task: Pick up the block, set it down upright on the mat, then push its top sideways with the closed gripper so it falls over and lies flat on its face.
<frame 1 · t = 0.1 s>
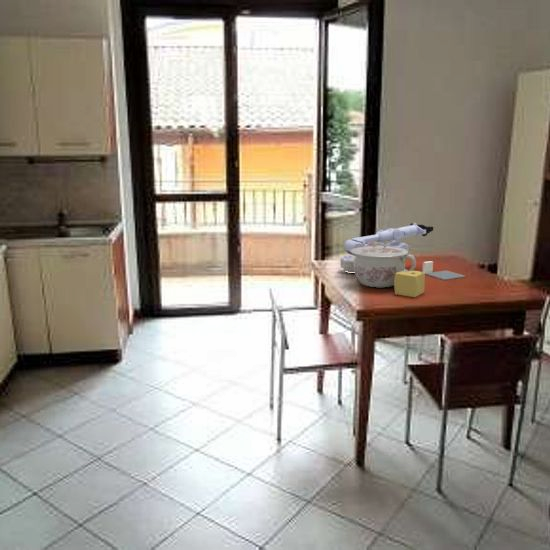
hand: (428, 227, 297), 22 cm above the table, tool horizontal, fingers open, 7 cm apart
paper bowls: (354, 272, 292), on the table
chamber pot: (378, 285, 267), on the table
gum box: (366, 264, 311), on the table
cheese: (409, 294, 250), on the table
mat: (445, 275, 281), on the table
block: (427, 273, 287), on the table
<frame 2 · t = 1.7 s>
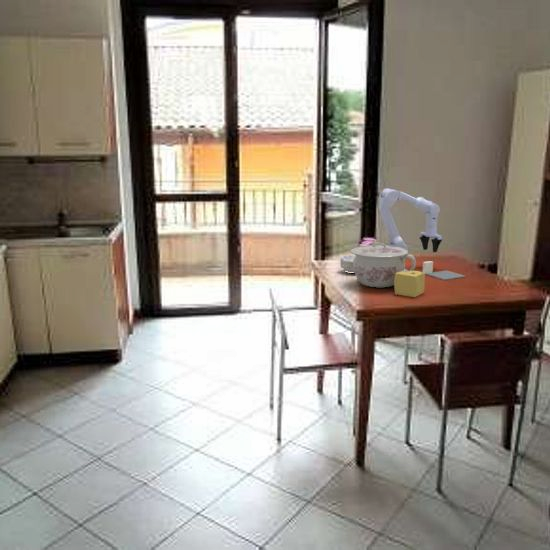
hand: (430, 250, 295), 10 cm above the table, tool pointing down, fingers open, 7 cm apart
nothing on the table moved.
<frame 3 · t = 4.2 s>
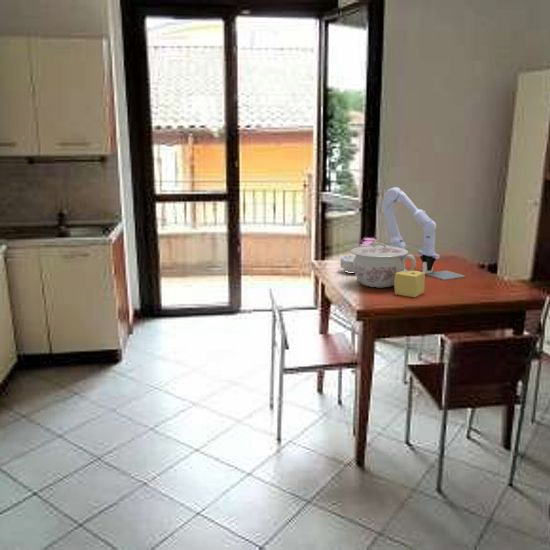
hand: (427, 269, 287), 2 cm above the table, tool pointing down, fingers closed on block, 2 cm apart
block: (427, 273, 287), on the table, touching gripper
everything else where it was.
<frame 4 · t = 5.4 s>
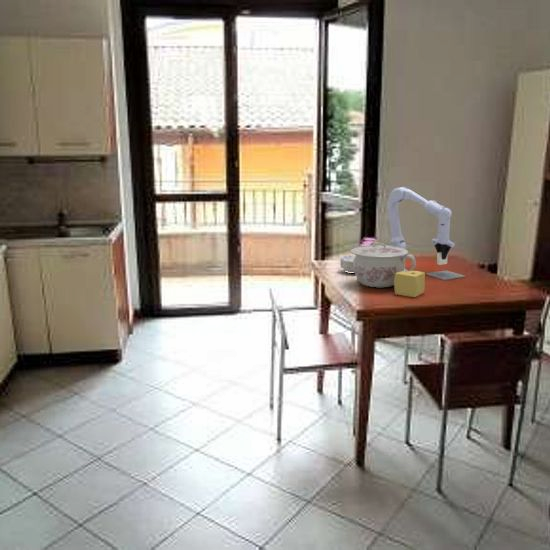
hand: (442, 258, 280), 9 cm above the table, tool pointing down, fingers closed on block, 2 cm apart
block: (442, 263, 281), point 6 cm above the table, touching gripper
everything else where it was.
when the fingers open (3 cm above the table, at t = 7.0 s): block stays where it is, resting on mat.
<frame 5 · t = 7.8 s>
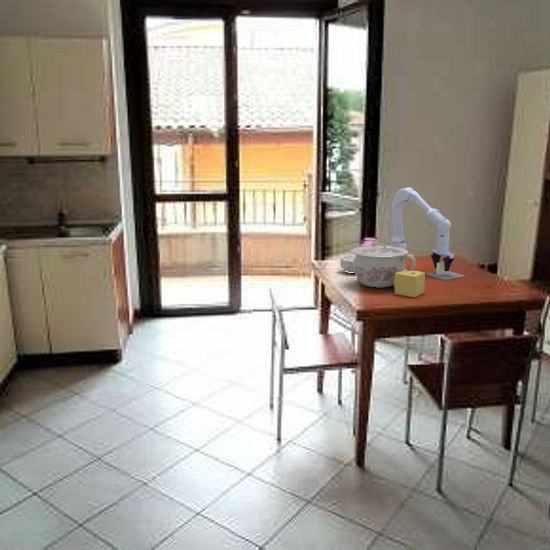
hand: (441, 269, 282), 3 cm above the table, tool pointing down, fingers open, 7 cm apart
block: (441, 274, 282), point 1 cm above the table, touching mat
everything else where it was.
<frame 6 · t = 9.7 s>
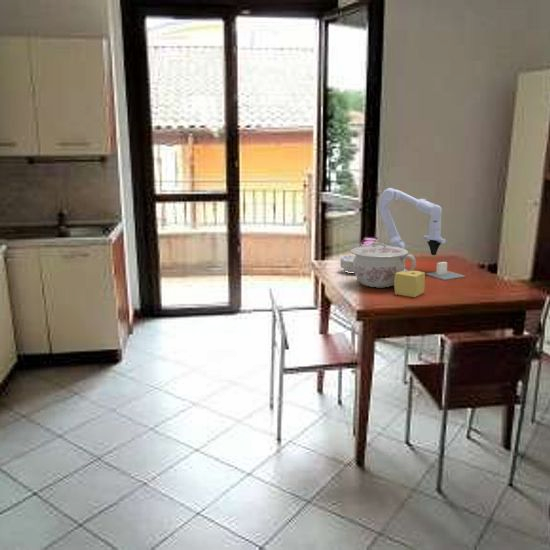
hand: (433, 254, 286), 10 cm above the table, tool pointing down, fingers closed
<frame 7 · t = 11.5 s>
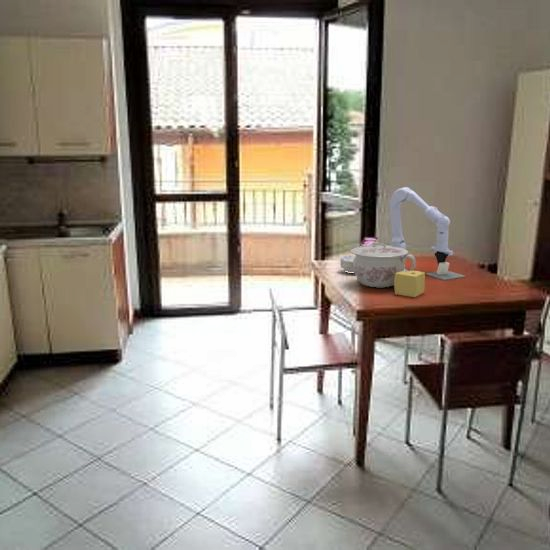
hand: (440, 266, 282), 4 cm above the table, tool pointing down, fingers closed
block: (441, 273, 282), point 1 cm above the table, tilted 16°, touching gripper, mat
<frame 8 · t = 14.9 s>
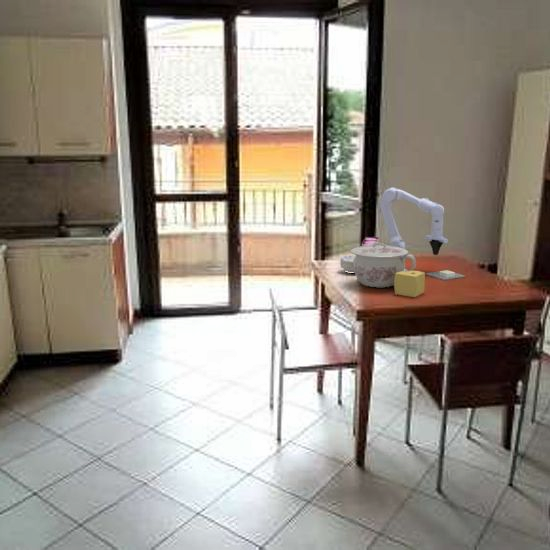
hand: (435, 254, 285), 10 cm above the table, tool pointing down, fingers closed
block: (442, 272, 281), point 2 cm above the table, tilted 90°, touching mat
at the end: block tilted 90°; block inside the target area on the mat (1.5 cm from its centre), point 1.6 cm above the mat's base; the gripper is holding nothing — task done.
